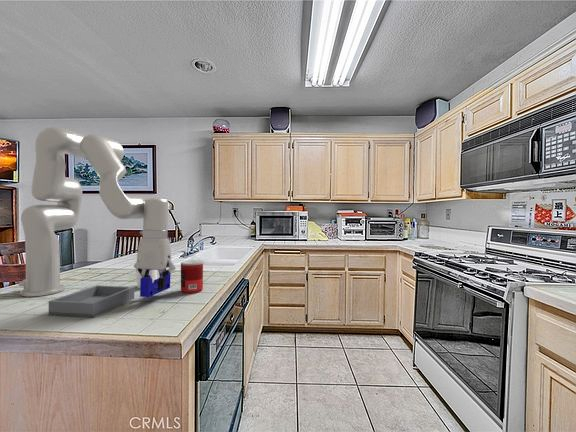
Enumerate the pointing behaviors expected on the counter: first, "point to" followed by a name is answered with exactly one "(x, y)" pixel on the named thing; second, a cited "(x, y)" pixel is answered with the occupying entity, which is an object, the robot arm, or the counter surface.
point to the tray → (91, 301)
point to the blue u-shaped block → (152, 286)
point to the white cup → (152, 273)
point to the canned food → (191, 276)
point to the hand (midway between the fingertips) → (153, 288)
